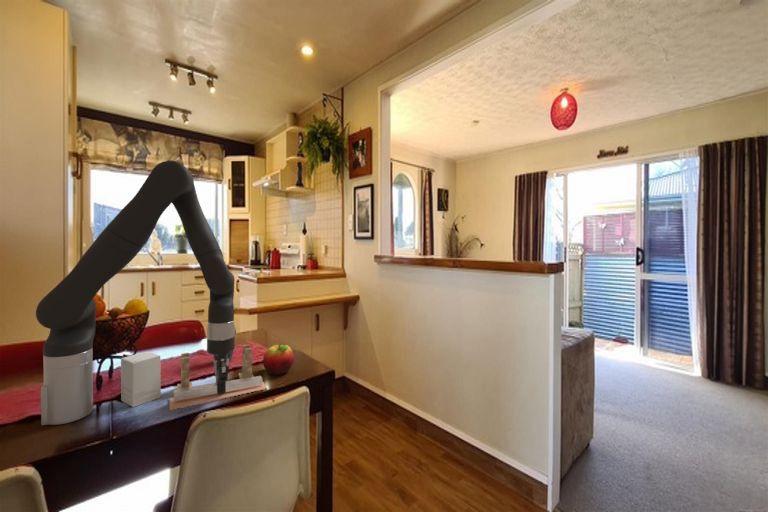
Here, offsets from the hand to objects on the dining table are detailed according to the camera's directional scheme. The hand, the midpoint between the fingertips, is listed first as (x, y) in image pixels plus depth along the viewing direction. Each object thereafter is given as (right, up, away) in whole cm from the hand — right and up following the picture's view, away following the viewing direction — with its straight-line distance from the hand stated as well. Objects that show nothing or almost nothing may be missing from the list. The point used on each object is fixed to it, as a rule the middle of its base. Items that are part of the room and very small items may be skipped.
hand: (220, 391), depth 100 cm
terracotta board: (0, -1, 0) cm, 1 cm away
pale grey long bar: (0, 0, 0) cm, 0 cm away
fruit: (+12, -1, +19) cm, 22 cm away
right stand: (+3, -1, +12) cm, 12 cm away
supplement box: (-21, -1, -4) cm, 22 cm away
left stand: (-12, -1, +2) cm, 12 cm away
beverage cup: (-11, 0, +26) cm, 28 cm away
